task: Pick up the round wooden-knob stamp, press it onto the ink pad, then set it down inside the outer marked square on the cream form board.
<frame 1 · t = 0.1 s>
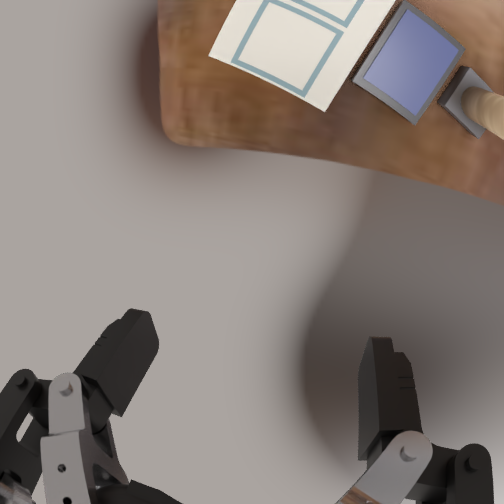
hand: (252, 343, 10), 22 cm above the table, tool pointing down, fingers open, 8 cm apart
ink pad: (408, 61, 20), on the table
form board: (306, 10, 19), on the table
stamp: (466, 99, 20), on the table
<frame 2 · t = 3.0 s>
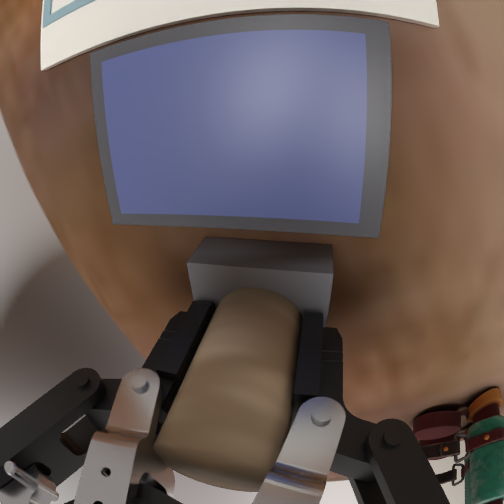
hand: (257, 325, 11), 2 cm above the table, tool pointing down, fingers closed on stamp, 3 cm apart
ink pad: (233, 121, 10), on the table
binoculars: (446, 422, 16), on the table
stamp: (267, 292, 13), on the table, touching gripper
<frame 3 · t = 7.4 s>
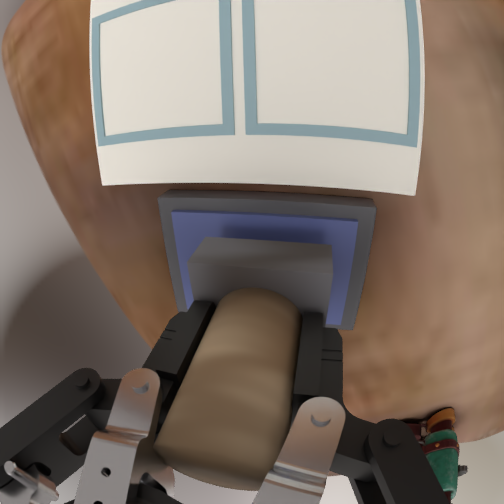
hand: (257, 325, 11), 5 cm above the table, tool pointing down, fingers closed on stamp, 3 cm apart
ink pad: (265, 256, 16), on the table
binoculars: (412, 431, 22), on the table
form board: (240, 54, 11), on the table
stamp: (267, 292, 13), point 3 cm above the table, touching gripper
when the fingers open (3 cm above the table, at t = 11.6 s): stamp stays where it is, resting on form board.
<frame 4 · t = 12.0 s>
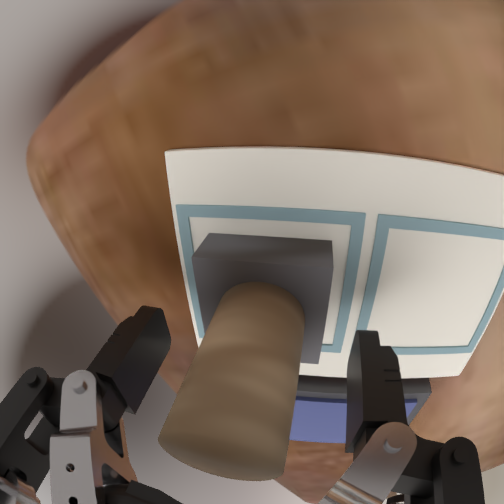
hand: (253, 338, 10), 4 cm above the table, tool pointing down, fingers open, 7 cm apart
ink pad: (342, 407, 17), on the table
form board: (357, 288, 13), on the table
stamp: (269, 287, 13), resting on form board
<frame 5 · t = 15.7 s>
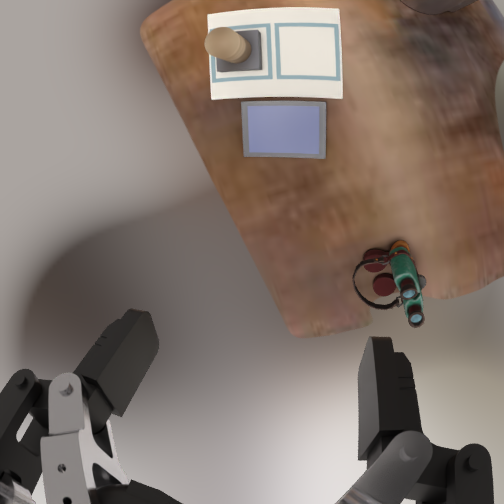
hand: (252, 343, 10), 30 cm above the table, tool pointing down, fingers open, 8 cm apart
ink pad: (284, 128, 34), on the table
binoculars: (384, 267, 41), on the table
form board: (274, 51, 30), on the table
stamp: (241, 52, 30), resting on form board
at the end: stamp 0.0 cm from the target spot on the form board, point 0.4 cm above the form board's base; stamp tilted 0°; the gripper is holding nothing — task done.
